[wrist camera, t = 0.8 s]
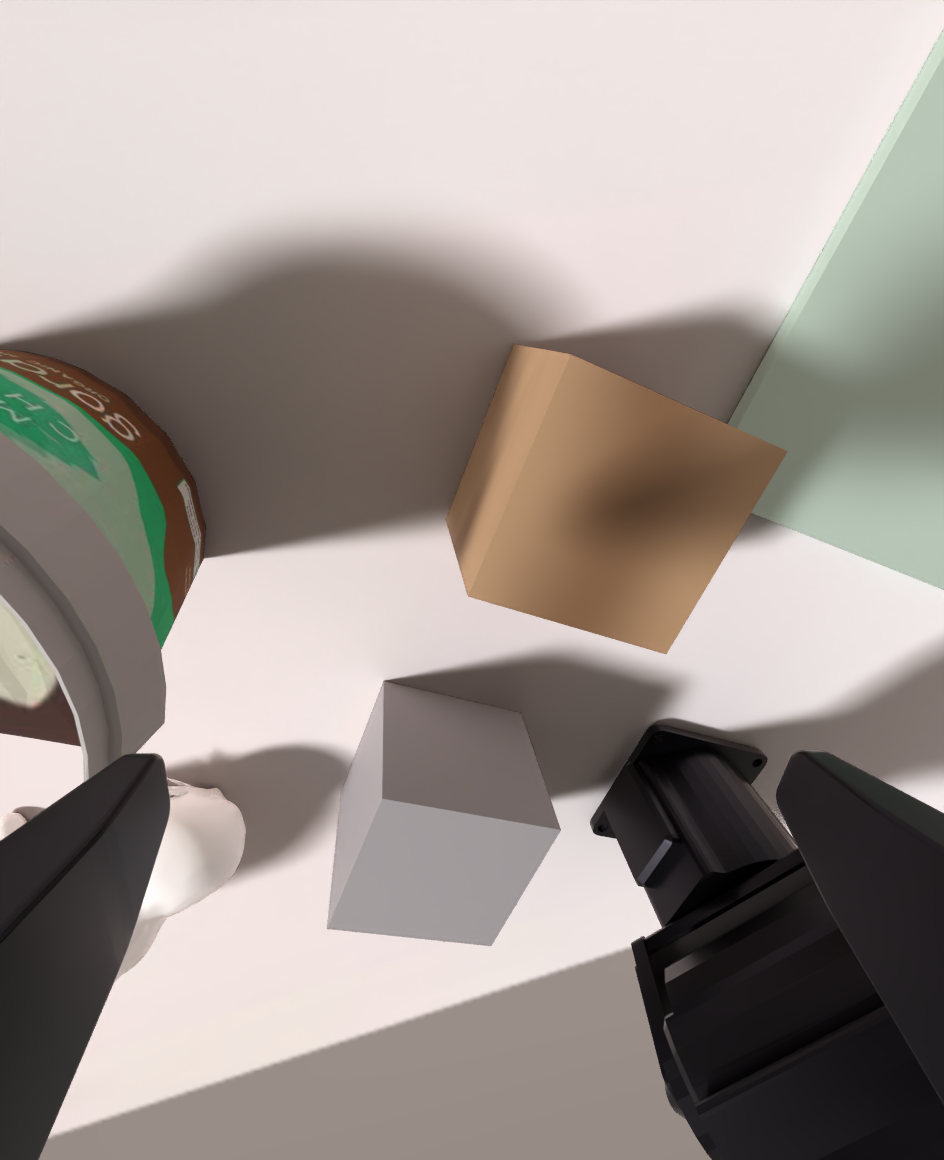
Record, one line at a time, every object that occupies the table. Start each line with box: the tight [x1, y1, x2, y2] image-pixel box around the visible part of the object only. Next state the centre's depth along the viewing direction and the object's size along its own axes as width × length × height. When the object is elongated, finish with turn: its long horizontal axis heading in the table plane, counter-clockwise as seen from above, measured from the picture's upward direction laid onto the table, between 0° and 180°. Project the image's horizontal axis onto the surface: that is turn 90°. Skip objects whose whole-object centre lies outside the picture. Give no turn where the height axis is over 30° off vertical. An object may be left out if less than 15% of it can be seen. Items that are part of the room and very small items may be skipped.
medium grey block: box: [327, 681, 561, 946], centre depth 21 cm, size 6×6×6 cm
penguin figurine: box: [0, 778, 246, 982], centre depth 19 cm, size 6×8×12 cm
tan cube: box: [446, 344, 788, 654], centre depth 16 cm, size 6×6×6 cm
